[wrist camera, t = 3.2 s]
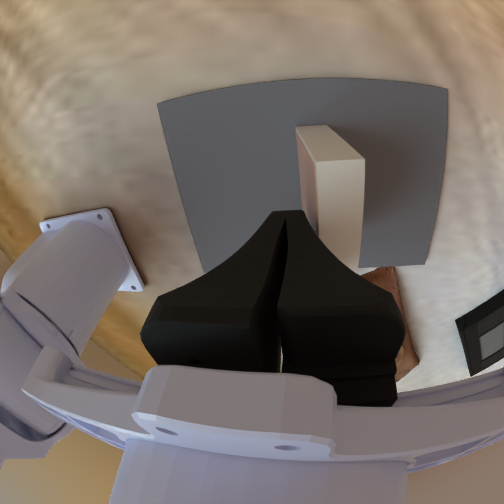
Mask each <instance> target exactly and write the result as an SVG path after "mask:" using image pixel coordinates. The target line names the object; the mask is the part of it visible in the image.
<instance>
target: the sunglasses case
mask: <svg viewBox="0 0 504 504" xmlns="http://www.w3.org/2000/svg"><path fill="white" fill-rule="evenodd" d="M361 277H363V278H364V279H366V280H368V281H369V282H371V283H373V284H375V285H377V286H379V287H381V288H383V289H384V290H386V291H388V292H390V293H392V295H393V297H394V299H395V301H396V303H397V305H398V307H399V309H400V311H401V314H402V316H403V320H404V323H405V329H406V335H405V340H404V342H403V344H402V346H401V349H400V351H399V353H398V355H397V357H396V359H395V361H396V367H397V373H396V375H395V382H397V381H399V380H400V379H401V378H402V377H404V376H405V375H406V374H407V373H409V372H410V371H411V370H412V369H413V368H414V367H416V366H417V365H419V359H418V358H417V356H416V354H415V351H414V348H413V345H412V341H411V338H410V334H409V330H408V326H407V323H406V319H405V315H404V312H403V307H402V303H401V297H400V292H399V288H398V283H397V278H396V274H395V270H394V267H393V266H387V267H379V268H377V269H375V270H374V271H371V272H369V273H366V274H363V275H361Z"/></svg>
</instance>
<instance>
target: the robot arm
mask: <svg viewBox="0 0 504 504" xmlns="http://www.w3.org/2000/svg"><path fill="white" fill-rule="evenodd" d="M101 216H102V217H101ZM40 228H41V230H42V232H43V233H42V234H41V235H40V236H39V237H38V238H37V239H36V240H35V241H34V242H33V243H32V244H31V245H30V246H29V247H28V248H27V249H26V250H25V252H24V253H23V254H22V255H21V256H20V257H19V258H18V259H17V260H16V261H15V262H14V263H13V265H12V266H11V267H10V268H9V269H8V271H7V272H6V274H5V276H4V278H3V281H2V287H1V292H0V468H1V466H2V465H3V463H4V461H5V460H6V459H37V458H44V457H45V456H46V454H47V453H48V451H49V450H50V449H51V447H52V446H53V445H54V444H55V443H56V442H57V441H59V440H61V439H62V438H64V437H65V436H67V435H68V434H70V433H71V432H72V431H73V430H74V429H75V428H77V429H79V430H81V431H83V432H86V433H87V434H89V435H91V436H93V437H95V438H98V439H100V440H102V441H104V442H106V443H108V444H110V445H113V446H115V447H117V448H120V449H122V450H124V454H123V457H122V460H121V463H120V466H119V469H118V472H117V476H116V479H115V482H114V486H113V489H112V492H111V496H110V499H109V503H108V504H407V474H408V473H412V472H416V471H419V470H423V469H426V468H430V467H433V466H436V465H440V464H442V463H446V462H448V461H451V460H454V459H457V458H460V457H462V456H465V455H467V454H470V453H472V452H475V451H477V450H479V449H482V448H484V447H486V446H488V445H490V444H493V443H495V442H497V441H499V440H501V439H503V438H504V367H503V368H501V369H498V370H495V371H492V372H489V373H485V374H482V375H479V376H475V377H472V378H468V379H464V380H460V381H456V382H452V383H448V384H443V385H439V386H434V387H429V388H424V389H418V390H412V391H406V392H400V393H397V389H396V382H395V375H396V373H397V367H396V361H395V359H396V357H397V355H398V353H399V351H400V349H401V346H402V344H403V342H404V340H405V335H406V329H405V323H404V320H403V316H402V314H401V311H400V309H399V307H398V305H397V303H396V301H395V299H394V297H393V295H392V293H390V292H388V291H386V290H384V289H383V288H381V287H379V286H377V285H375V284H373V283H371V282H369V281H368V280H366V279H364V278H363V277H361V276H360V275H358V274H357V273H355V272H354V271H352V270H351V269H350V268H349V267H347V266H346V265H345V264H343V263H342V262H341V261H340V260H339V259H338V258H337V257H336V256H335V255H334V254H333V253H332V252H331V251H330V250H329V249H328V248H327V247H326V246H325V244H324V243H323V242H322V241H321V239H320V238H319V237H318V235H317V234H316V232H315V231H314V230H313V228H312V226H311V225H310V223H309V221H308V219H307V217H306V215H305V212H304V211H303V210H283V211H272V212H271V213H270V214H269V216H268V217H267V218H266V220H265V221H264V222H263V223H262V225H261V226H260V227H259V228H258V230H257V231H256V232H255V233H254V234H253V235H252V237H251V238H250V239H249V240H248V241H247V242H246V243H245V244H244V245H243V246H242V247H241V248H240V249H239V250H238V251H236V252H235V253H234V254H233V255H232V256H230V257H229V258H228V259H227V260H225V261H224V262H223V263H221V264H220V265H218V266H217V267H215V268H214V269H212V270H211V271H209V272H208V273H206V274H204V275H203V276H201V277H199V278H197V279H195V280H194V281H192V282H190V283H188V284H186V285H184V286H182V287H179V288H177V289H175V290H172V291H170V292H168V293H165V294H163V295H160V296H158V297H157V299H156V301H155V303H154V305H153V306H152V308H151V310H150V312H149V315H148V317H147V319H146V321H145V323H144V325H143V327H142V330H141V332H140V335H141V340H142V342H143V344H144V346H145V348H146V349H147V351H148V352H149V354H150V355H151V356H152V358H153V359H154V360H155V362H156V363H157V364H158V365H157V366H154V367H153V368H151V369H150V370H149V371H148V372H147V373H146V376H145V378H144V381H143V382H139V381H134V380H130V379H126V378H122V377H118V376H114V375H111V374H107V373H103V372H100V371H97V370H93V369H90V368H87V367H85V364H84V363H83V362H82V361H81V360H80V359H79V357H80V355H81V353H82V351H83V349H84V347H85V346H86V344H87V342H88V340H89V338H90V336H91V335H92V333H93V331H94V329H95V328H96V326H97V324H98V322H99V321H100V319H101V317H102V316H103V314H104V312H105V311H106V309H107V307H108V306H109V304H110V302H111V301H112V299H113V297H114V296H115V294H116V293H117V291H136V292H142V291H143V290H144V288H145V286H144V283H143V281H142V279H141V277H140V275H139V273H138V271H137V269H136V267H135V265H134V263H133V261H132V259H131V257H130V254H129V252H128V250H127V248H126V246H125V243H124V241H123V239H122V237H121V234H120V232H119V230H118V227H117V225H116V222H115V220H114V218H113V215H112V213H111V211H110V210H109V209H107V208H102V209H97V210H91V211H86V212H81V213H76V214H71V215H66V216H61V217H56V218H52V219H47V220H43V221H42V222H40ZM281 347H282V353H283V363H282V373H280V364H281Z"/></svg>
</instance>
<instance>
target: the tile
mask: <svg viewBox="0 0 504 504" xmlns="http://www.w3.org/2000/svg"><path fill="white" fill-rule="evenodd" d="M295 133H296V142H297V153H298V164H299V175H300V188H301V201H302V210H303V211H304V212H305V215H306V217H307V219H308V221H309V223H310V225H311V226H312V228H313V230H314V231H315V232H316V234H317V235H318V237H319V238H320V239H321V241H322V242H323V243H324V244H325V246H326V247H327V248H328V249H329V250H330V251H331V252H332V253H333V254H334V255H335V256H336V257H337V258H338V259H339V260H340V261H341V262H342V263H343V264H345V265H346V266H347V267H349V268H350V269H351V270H352V271H354V272H355V273H358V265H359V256H360V246H361V235H362V223H363V208H364V186H365V159H364V158H363V157H362V156H361V155H360V154H359V153H358V152H357V151H356V150H355V149H353V148H352V147H351V146H350V145H349V144H348V143H347V142H346V141H345V140H343V139H342V138H341V137H340V136H339V135H338V134H337V133H335V132H334V131H333V130H332V129H331V128H329V127H328V126H327V125H314V126H300V127H296V131H295Z"/></svg>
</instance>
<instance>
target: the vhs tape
mask: <svg viewBox="0 0 504 504" xmlns="http://www.w3.org/2000/svg"><path fill="white" fill-rule="evenodd" d="M455 322H456V325H457V328H458V331H459V335H460V338H461V342H462V345H463V349H464V353H465V357H466V361H467V365H468V369H469V373H470V376H473V375H475V374H477V373H479V372H480V371H482V370H484V369H486V368H488V367H489V366H491V365H493V364H494V363H496V362H498V361H499V360H501V359H502V358H504V289H503V290H502V291H501V292H499V293H498V294H496V295H495V296H493V297H492V298H490V299H489V300H487V301H486V302H484V303H483V304H481V305H480V306H478V307H476V308H475V309H473V310H472V311H470V312H468V313H467V314H465V316H464V315H463V316H461V317H460V318H458V319H456V320H455Z"/></svg>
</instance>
